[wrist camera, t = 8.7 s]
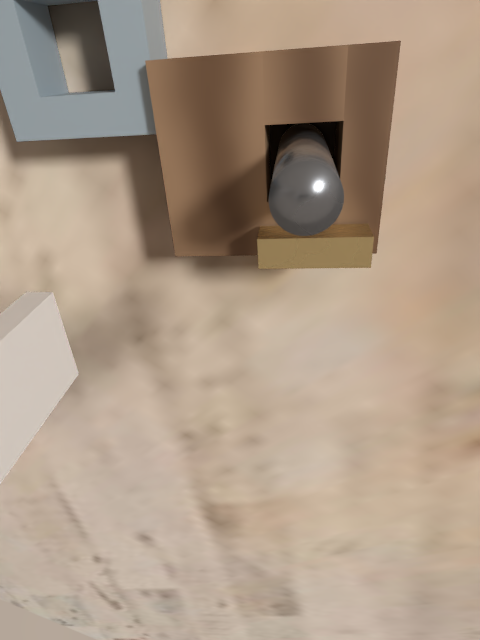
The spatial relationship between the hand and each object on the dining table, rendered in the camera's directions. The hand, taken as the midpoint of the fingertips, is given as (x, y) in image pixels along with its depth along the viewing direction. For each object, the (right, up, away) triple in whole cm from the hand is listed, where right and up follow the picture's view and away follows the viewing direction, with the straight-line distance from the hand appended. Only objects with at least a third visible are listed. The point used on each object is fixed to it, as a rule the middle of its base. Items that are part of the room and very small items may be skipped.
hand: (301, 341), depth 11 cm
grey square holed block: (-12, +19, +17) cm, 28 cm away
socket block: (+1, +13, +20) cm, 23 cm away
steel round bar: (+3, +13, +19) cm, 23 cm away
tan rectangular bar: (+3, +6, +17) cm, 19 cm away
